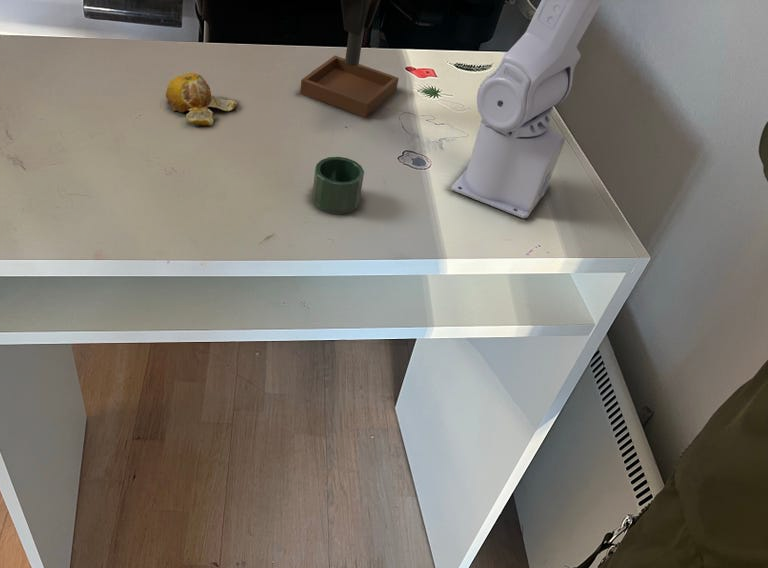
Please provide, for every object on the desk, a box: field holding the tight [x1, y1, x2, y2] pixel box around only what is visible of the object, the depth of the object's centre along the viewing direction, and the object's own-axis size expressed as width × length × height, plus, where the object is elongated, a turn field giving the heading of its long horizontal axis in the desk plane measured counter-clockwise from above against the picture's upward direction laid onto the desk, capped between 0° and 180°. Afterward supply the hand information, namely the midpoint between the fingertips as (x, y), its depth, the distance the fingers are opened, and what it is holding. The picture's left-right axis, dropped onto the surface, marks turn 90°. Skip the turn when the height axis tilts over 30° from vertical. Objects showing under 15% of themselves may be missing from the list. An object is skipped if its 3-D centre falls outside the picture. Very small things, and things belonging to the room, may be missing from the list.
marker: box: [344, 28, 365, 66], centre depth 94 cm, size 2×2×8 cm
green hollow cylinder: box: [311, 156, 365, 215], centre depth 85 cm, size 5×5×4 cm
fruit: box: [165, 72, 238, 126], centre depth 97 cm, size 8×8×4 cm
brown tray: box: [299, 55, 399, 119], centre depth 103 cm, size 10×9×2 cm
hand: (357, 28), depth 93 cm, fingers closed on marker, 2 cm apart
